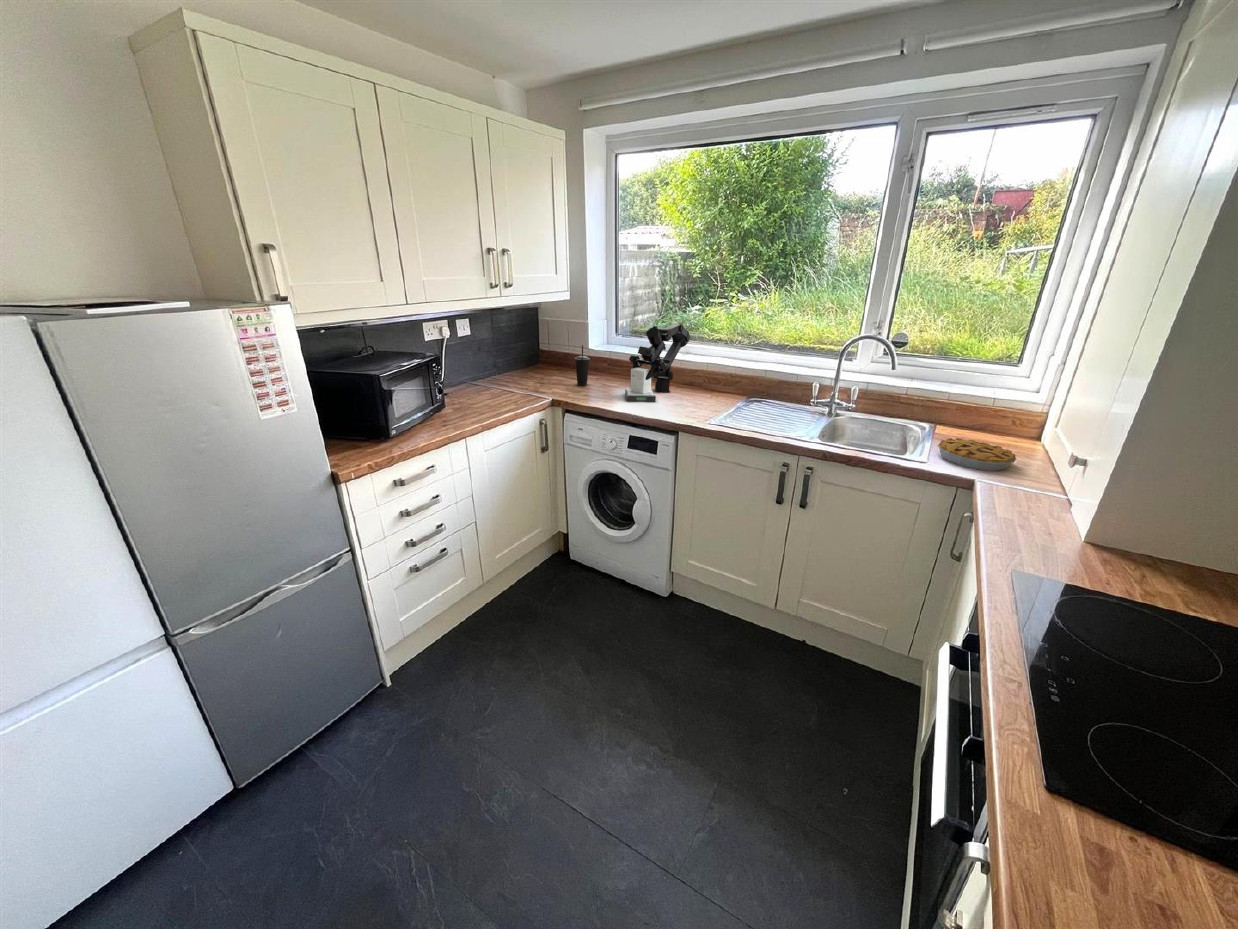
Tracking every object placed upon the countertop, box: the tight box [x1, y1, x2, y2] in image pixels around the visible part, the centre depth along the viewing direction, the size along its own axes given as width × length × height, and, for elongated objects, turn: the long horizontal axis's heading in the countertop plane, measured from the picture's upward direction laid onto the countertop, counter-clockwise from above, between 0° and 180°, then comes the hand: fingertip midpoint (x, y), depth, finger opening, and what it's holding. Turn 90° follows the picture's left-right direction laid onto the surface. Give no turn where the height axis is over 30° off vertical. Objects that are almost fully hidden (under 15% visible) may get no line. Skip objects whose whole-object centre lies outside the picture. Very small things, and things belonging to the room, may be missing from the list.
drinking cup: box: [574, 344, 591, 387], centre depth 251 cm, size 8×8×20 cm
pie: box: [937, 437, 1017, 472], centre depth 166 cm, size 22×22×5 cm
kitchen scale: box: [624, 388, 657, 403], centre depth 232 cm, size 13×13×3 cm
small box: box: [630, 367, 652, 394], centre depth 229 cm, size 8×6×10 cm
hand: (639, 377), depth 228 cm, fingers closed on small box, 8 cm apart
